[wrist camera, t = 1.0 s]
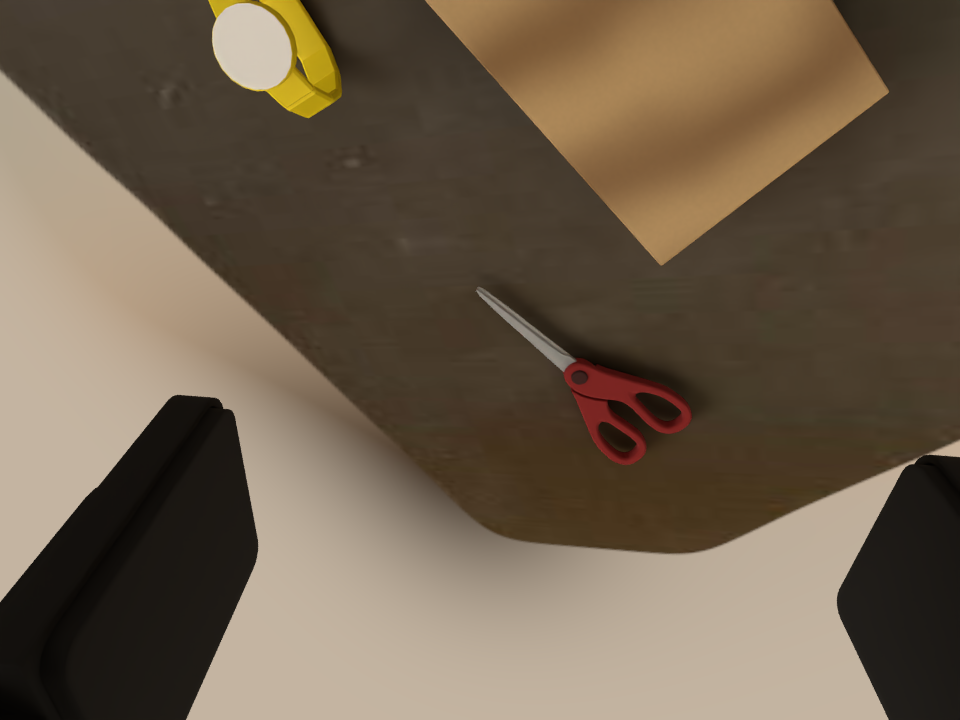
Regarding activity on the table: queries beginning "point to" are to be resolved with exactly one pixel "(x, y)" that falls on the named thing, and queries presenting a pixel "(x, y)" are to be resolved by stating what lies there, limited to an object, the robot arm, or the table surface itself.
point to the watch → (276, 52)
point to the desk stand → (673, 95)
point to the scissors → (600, 389)
